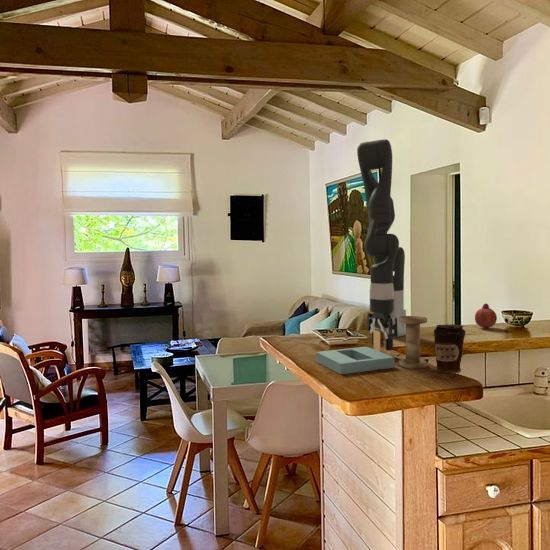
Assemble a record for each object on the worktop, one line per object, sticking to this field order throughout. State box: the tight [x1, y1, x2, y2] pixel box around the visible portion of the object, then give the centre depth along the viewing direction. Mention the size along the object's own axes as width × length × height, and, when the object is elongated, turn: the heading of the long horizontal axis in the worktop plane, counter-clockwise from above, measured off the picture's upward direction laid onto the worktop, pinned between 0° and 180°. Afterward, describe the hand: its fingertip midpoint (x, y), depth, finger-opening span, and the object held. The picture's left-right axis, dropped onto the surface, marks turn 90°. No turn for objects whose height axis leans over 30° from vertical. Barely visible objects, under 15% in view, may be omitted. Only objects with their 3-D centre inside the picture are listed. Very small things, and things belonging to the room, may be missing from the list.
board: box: [315, 346, 396, 375], centre depth 160 cm, size 18×16×3 cm
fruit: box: [474, 303, 498, 329], centre depth 212 cm, size 8×8×10 cm
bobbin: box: [398, 315, 428, 370], centre depth 158 cm, size 8×8×14 cm
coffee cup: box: [433, 323, 466, 374], centre depth 150 cm, size 9×8×13 cm
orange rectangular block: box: [373, 329, 392, 356], centre depth 171 cm, size 4×4×8 cm
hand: (381, 347), depth 171 cm, fingers open, 8 cm apart
